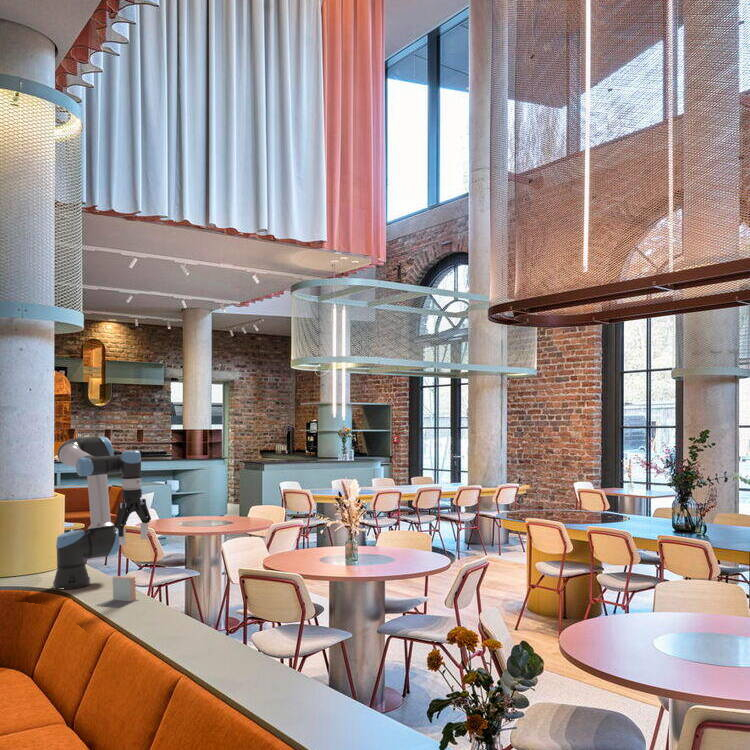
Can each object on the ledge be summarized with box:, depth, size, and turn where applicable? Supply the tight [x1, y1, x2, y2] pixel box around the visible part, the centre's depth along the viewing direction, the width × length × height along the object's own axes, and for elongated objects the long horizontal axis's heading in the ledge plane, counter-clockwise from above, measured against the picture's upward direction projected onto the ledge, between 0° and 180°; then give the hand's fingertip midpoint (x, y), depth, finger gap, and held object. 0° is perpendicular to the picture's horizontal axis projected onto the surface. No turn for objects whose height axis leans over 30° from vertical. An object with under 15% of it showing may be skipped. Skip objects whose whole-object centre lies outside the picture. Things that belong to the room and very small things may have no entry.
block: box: [112, 575, 137, 602], centre depth 316 cm, size 3×9×9 cm, turn 68°
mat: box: [94, 598, 140, 609], centre depth 312 cm, size 12×12×1 cm
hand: (133, 541), depth 322 cm, fingers open, 12 cm apart
